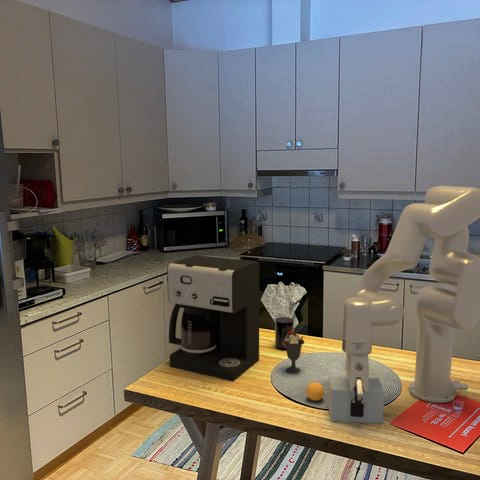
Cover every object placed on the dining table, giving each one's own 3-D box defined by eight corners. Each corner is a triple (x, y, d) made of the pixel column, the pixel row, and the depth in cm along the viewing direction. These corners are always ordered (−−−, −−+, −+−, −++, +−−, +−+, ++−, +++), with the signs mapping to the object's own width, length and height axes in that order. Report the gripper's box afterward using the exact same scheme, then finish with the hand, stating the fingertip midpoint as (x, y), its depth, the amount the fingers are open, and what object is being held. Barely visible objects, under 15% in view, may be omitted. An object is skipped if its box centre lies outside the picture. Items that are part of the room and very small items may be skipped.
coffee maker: (158, 365, 161) (155, 262, 156) (190, 345, 178) (188, 252, 173) (232, 382, 148) (231, 271, 143) (259, 359, 165) (259, 259, 160)
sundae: (279, 368, 159) (279, 324, 156) (297, 365, 161) (298, 321, 159) (288, 376, 152) (288, 330, 150) (307, 373, 155) (308, 328, 152)
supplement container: (278, 351, 173) (278, 323, 171) (272, 344, 179) (272, 317, 177) (296, 349, 174) (296, 321, 173) (289, 343, 181) (289, 316, 179)
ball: (323, 395, 140) (323, 379, 139) (324, 404, 135) (325, 387, 134) (305, 395, 140) (306, 378, 139) (306, 403, 135) (306, 386, 134)
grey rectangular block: (377, 408, 132) (378, 378, 131) (382, 423, 125) (384, 391, 123) (328, 406, 134) (329, 376, 132) (330, 421, 126) (331, 389, 125)
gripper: (377, 359, 117) (374, 426, 120) (366, 334, 134) (363, 393, 137) (346, 357, 118) (344, 424, 121) (338, 333, 135) (336, 392, 138)
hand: (354, 407), depth 129 cm, fingers closed on grey rectangular block, 7 cm apart
